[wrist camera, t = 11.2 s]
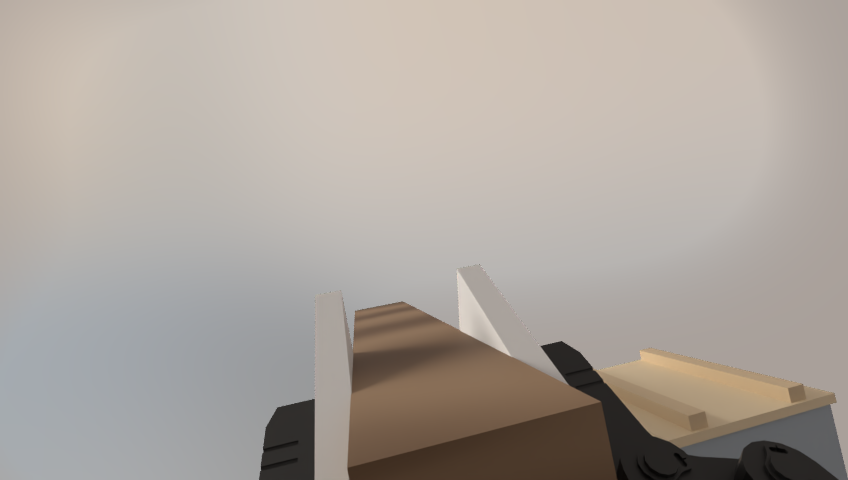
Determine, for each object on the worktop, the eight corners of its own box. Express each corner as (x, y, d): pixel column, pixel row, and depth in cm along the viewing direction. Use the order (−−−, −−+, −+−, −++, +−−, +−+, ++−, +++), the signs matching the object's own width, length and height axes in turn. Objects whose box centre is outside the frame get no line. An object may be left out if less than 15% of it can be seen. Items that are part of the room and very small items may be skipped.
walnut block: (363, 359, 31) (355, 311, 31) (411, 349, 31) (402, 301, 32) (396, 767, 5) (347, 467, 5) (655, 666, 6) (601, 402, 6)
